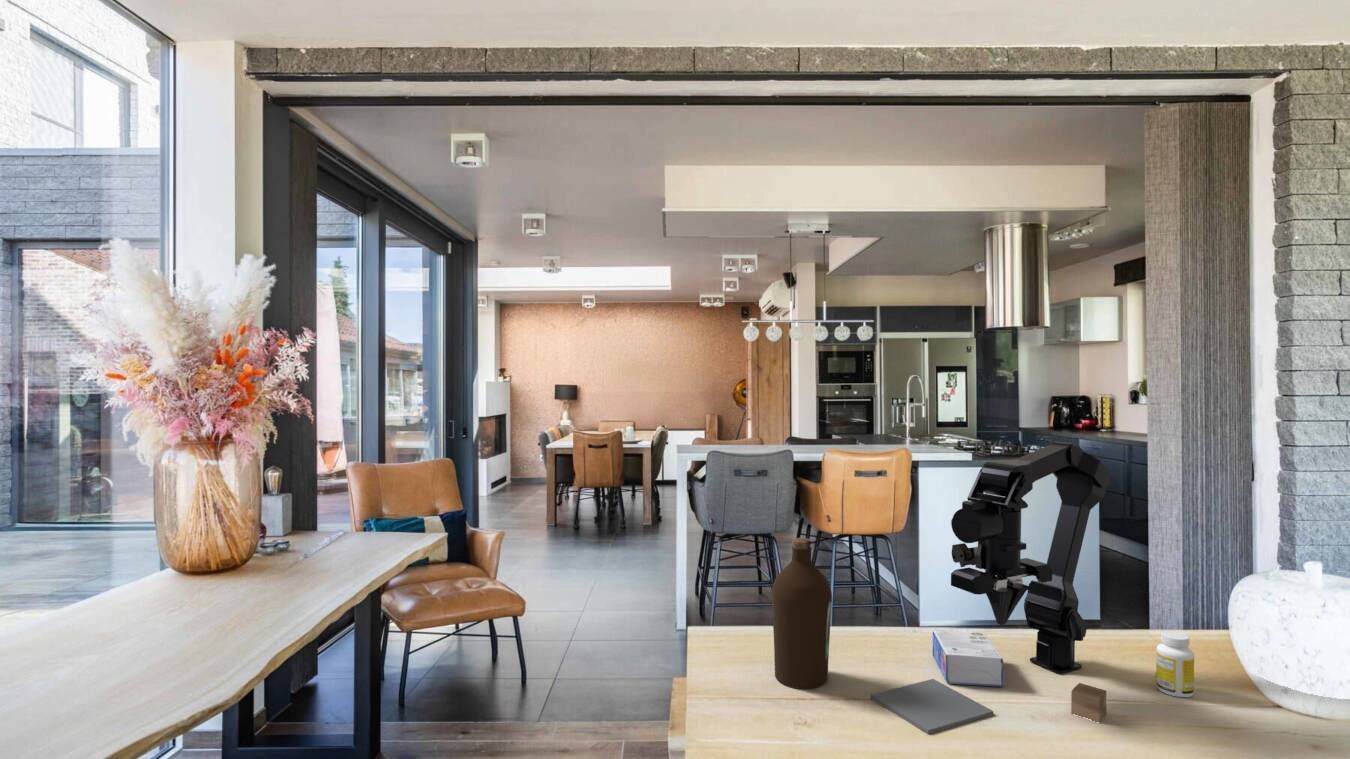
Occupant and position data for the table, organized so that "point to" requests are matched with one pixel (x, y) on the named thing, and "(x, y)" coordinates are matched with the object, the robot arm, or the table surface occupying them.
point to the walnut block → (1088, 702)
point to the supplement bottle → (1175, 665)
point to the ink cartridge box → (967, 658)
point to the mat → (931, 705)
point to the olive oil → (801, 621)
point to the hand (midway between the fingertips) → (1001, 624)
